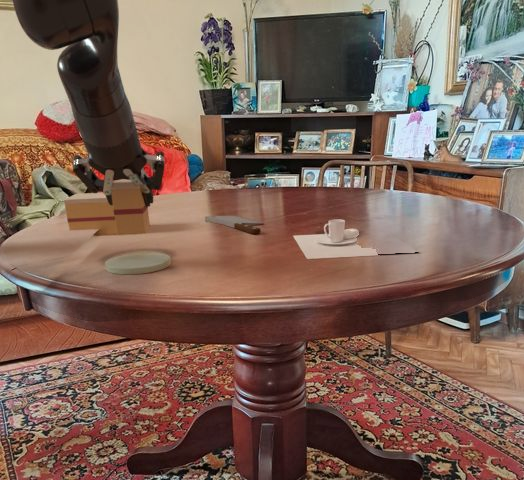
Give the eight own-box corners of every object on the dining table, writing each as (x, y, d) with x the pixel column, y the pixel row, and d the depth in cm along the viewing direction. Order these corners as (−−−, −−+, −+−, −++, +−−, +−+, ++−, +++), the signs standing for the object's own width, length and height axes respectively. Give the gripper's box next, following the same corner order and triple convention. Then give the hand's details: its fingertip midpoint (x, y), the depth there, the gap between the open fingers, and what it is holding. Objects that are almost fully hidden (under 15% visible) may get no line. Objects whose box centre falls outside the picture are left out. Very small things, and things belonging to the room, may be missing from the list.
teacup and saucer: (355, 236, 102) (356, 215, 101) (365, 245, 95) (366, 223, 93) (312, 238, 102) (312, 218, 100) (319, 247, 95) (319, 225, 93)
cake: (70, 236, 113) (63, 199, 110) (81, 228, 122) (75, 193, 119) (143, 233, 114) (138, 196, 111) (149, 225, 123) (144, 190, 120)
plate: (99, 276, 82) (98, 270, 82) (112, 259, 92) (111, 254, 92) (168, 272, 83) (167, 266, 82) (173, 256, 93) (172, 250, 92)
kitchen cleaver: (285, 227, 111) (244, 230, 106) (285, 231, 111) (244, 235, 107) (238, 213, 131) (201, 215, 126) (238, 217, 131) (202, 220, 127)
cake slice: (117, 235, 82) (109, 183, 79) (123, 228, 88) (116, 179, 84) (145, 233, 82) (139, 182, 79) (150, 226, 88) (144, 178, 85)
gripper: (159, 101, 71) (174, 182, 87) (54, 105, 70) (89, 187, 86) (159, 143, 68) (176, 219, 84) (50, 148, 67) (88, 224, 83)
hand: (132, 202), depth 85 cm, fingers closed on cake slice, 4 cm apart
